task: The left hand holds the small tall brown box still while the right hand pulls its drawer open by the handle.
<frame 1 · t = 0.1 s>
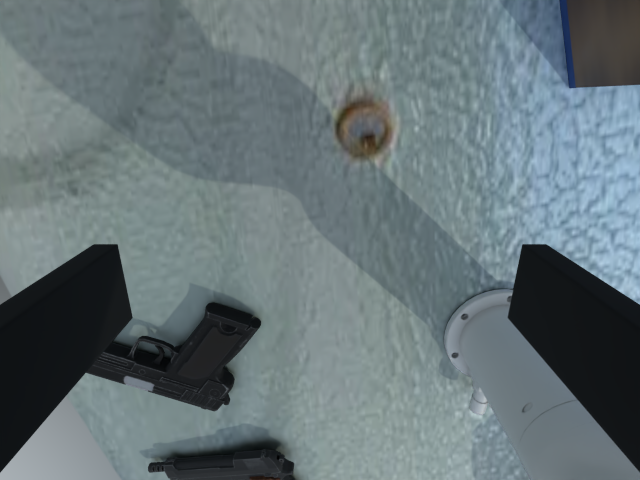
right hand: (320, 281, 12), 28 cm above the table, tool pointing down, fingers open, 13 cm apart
handgun 2: (163, 335, 46), on the table
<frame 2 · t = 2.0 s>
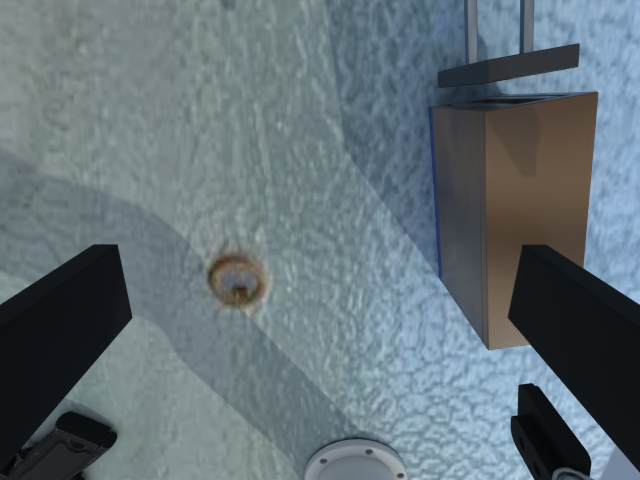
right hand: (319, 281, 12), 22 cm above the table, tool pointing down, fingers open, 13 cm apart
handgun 2: (15, 434, 44), on the table
tall brown box: (468, 194, 34), on the table
drawer: (496, 129, 26), point 6 cm above the table, slide at 1.4 cm
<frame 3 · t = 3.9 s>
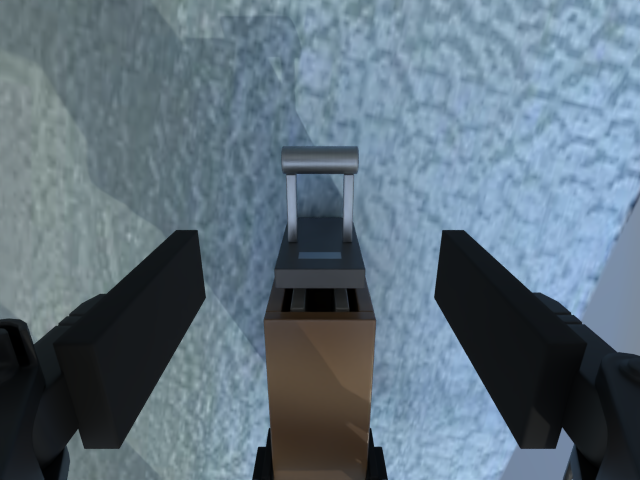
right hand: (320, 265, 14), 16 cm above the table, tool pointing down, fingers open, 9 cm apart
tall brown box: (320, 327, 34), on the table, touching left hand
drawer: (320, 298, 26), point 6 cm above the table, slide at 1.4 cm
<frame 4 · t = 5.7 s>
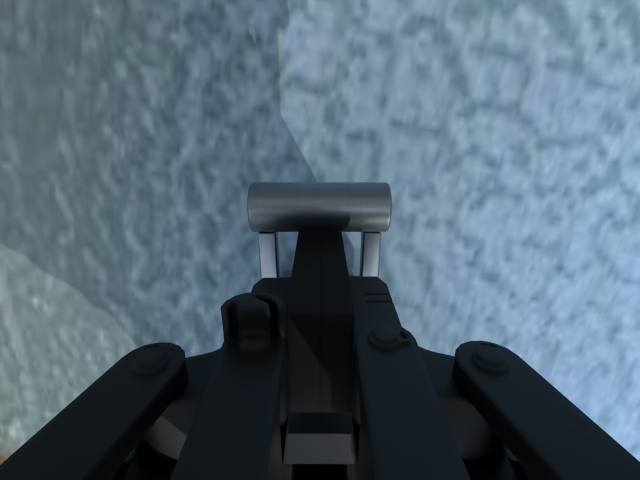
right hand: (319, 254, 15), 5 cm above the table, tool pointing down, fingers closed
drawer: (319, 419, 16), point 6 cm above the table, slide at 1.4 cm, touching right hand
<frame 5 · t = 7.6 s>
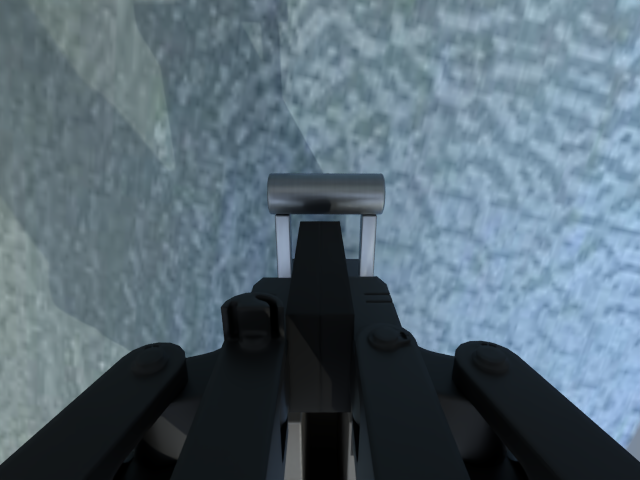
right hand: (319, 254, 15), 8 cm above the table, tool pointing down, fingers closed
drawer: (324, 377, 19), point 6 cm above the table, slide at 8.0 cm
when the left hand's fingers open (8 cm above the table, at t = 8.9 s): tall brown box stays where it is, on the table.
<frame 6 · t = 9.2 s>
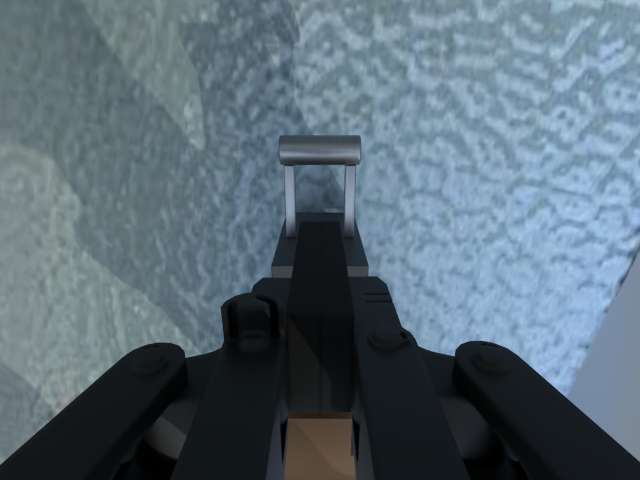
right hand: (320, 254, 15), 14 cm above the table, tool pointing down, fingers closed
tall brown box: (320, 387, 35), on the table
drawer: (320, 297, 25), point 6 cm above the table, slide at 8.0 cm
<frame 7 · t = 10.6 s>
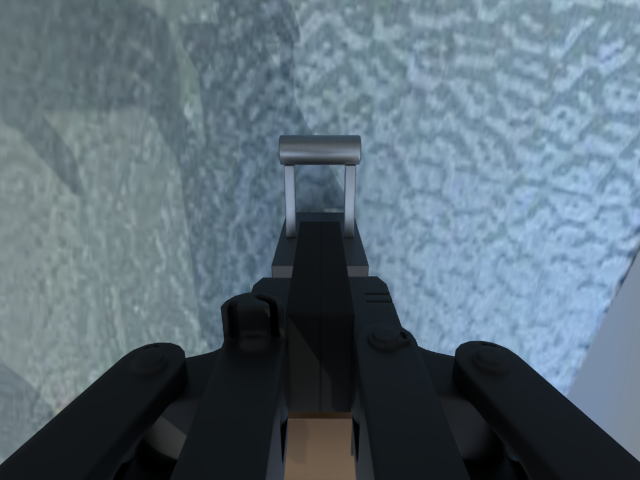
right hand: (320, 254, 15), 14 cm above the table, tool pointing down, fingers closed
tall brown box: (320, 387, 35), on the table
drawer: (320, 296, 25), point 6 cm above the table, slide at 8.0 cm
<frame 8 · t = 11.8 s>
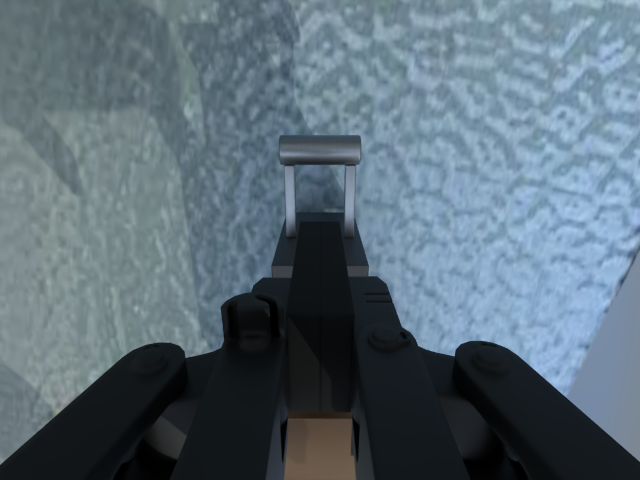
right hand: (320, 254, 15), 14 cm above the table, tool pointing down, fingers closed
tall brown box: (320, 387, 35), on the table
drawer: (320, 296, 25), point 6 cm above the table, slide at 8.0 cm
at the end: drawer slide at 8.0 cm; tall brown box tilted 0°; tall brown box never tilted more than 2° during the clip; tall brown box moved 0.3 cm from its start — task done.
